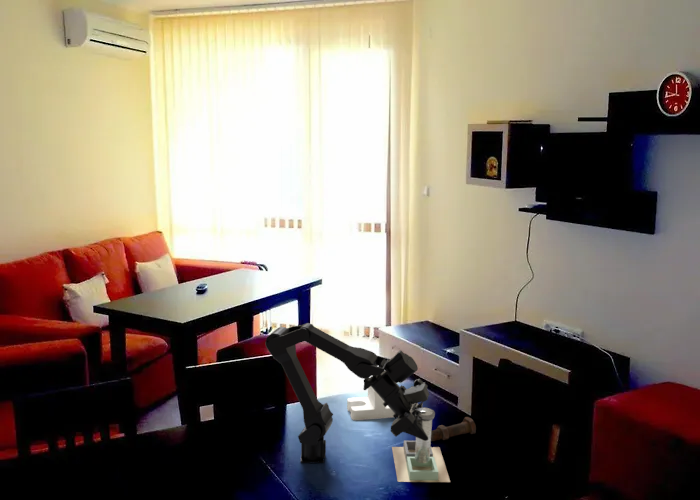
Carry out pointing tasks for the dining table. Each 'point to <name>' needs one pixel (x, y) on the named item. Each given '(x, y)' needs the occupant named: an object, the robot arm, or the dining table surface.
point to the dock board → (402, 467)
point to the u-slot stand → (368, 407)
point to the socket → (422, 473)
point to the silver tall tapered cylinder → (426, 423)
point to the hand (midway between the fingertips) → (428, 435)
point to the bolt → (453, 430)
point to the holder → (411, 446)
